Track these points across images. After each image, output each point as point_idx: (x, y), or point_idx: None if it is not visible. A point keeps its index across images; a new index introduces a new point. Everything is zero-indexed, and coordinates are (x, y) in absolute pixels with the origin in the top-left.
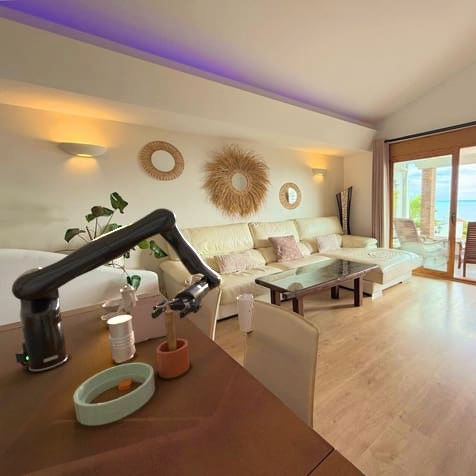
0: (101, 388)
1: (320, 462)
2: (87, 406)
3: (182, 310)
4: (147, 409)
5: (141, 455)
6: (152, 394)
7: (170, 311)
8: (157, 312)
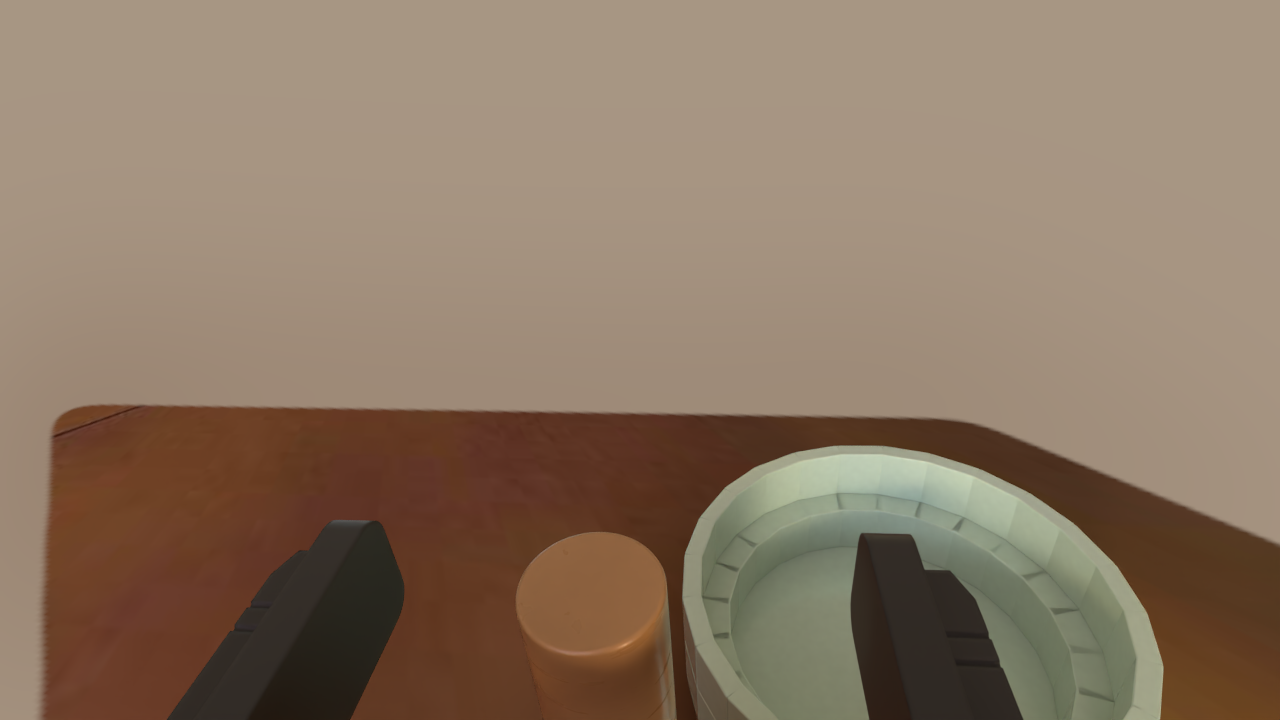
0: (1068, 703)
1: (103, 418)
2: (872, 446)
3: (315, 571)
4: (668, 604)
5: (584, 442)
6: (686, 671)
7: (558, 574)
8: (881, 657)
